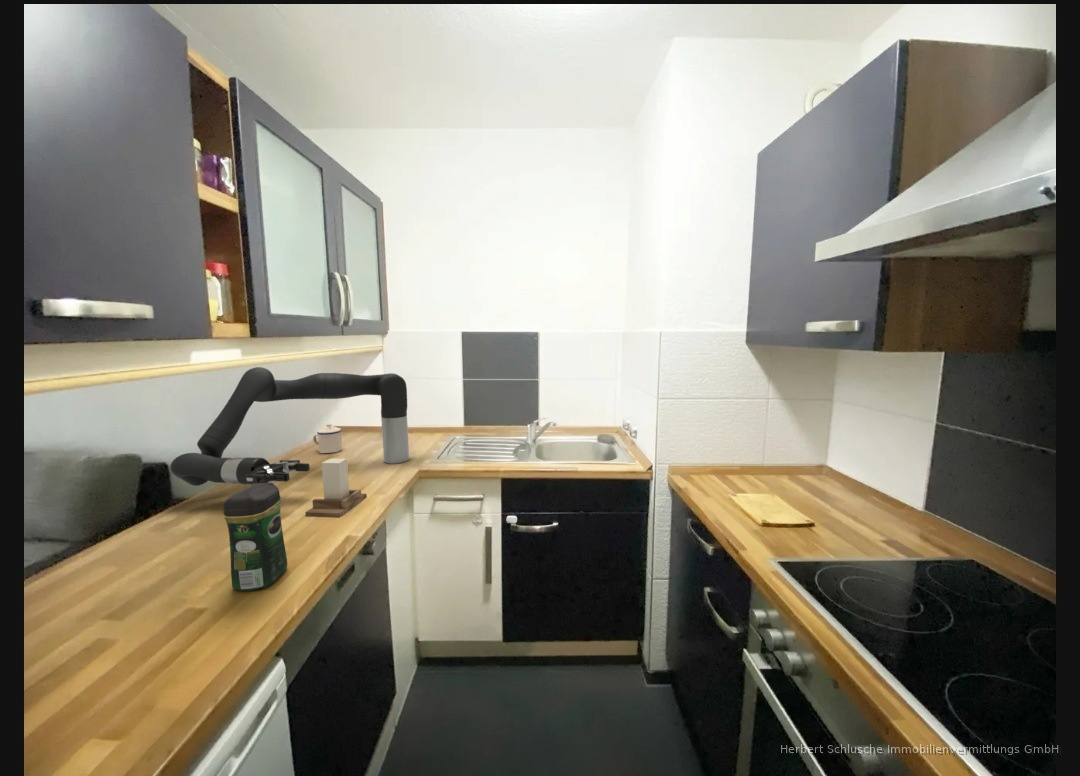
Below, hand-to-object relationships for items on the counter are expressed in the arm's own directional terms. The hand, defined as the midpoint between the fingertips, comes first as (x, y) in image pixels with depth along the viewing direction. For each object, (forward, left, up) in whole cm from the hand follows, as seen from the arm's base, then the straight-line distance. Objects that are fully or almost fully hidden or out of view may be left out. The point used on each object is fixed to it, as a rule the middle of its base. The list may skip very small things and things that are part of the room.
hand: (299, 472), depth 118 cm
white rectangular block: (0, +11, -9) cm, 14 cm away
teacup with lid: (-55, -27, -10) cm, 62 cm away
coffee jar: (+35, +16, -10) cm, 40 cm away
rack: (0, +11, -10) cm, 14 cm away
